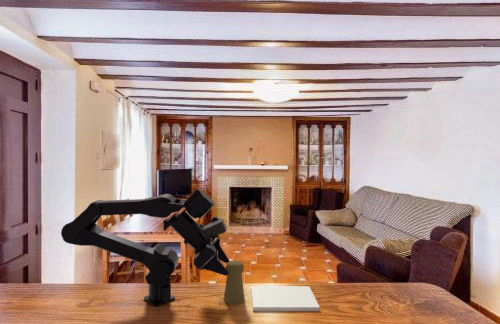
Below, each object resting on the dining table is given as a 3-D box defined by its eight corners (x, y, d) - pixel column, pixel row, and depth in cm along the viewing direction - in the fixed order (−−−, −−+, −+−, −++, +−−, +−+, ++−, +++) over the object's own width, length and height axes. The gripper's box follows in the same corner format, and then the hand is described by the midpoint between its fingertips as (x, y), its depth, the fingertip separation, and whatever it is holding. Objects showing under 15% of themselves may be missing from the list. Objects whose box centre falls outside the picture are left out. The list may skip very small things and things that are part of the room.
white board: (253, 310, 89) (253, 307, 89) (251, 289, 102) (251, 286, 102) (319, 310, 90) (319, 307, 90) (309, 289, 103) (309, 286, 103)
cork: (242, 305, 92) (242, 266, 91) (220, 303, 93) (221, 264, 93) (246, 295, 98) (247, 259, 97) (226, 293, 99) (227, 257, 98)
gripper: (206, 217, 84) (249, 260, 86) (212, 203, 103) (247, 239, 104) (175, 247, 85) (218, 290, 86) (186, 228, 103) (221, 263, 104)
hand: (228, 268), depth 95 cm, fingers open, 9 cm apart
